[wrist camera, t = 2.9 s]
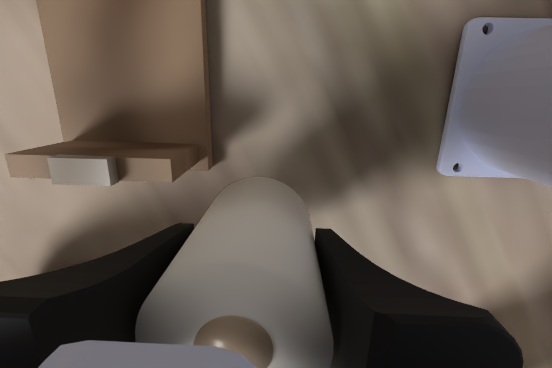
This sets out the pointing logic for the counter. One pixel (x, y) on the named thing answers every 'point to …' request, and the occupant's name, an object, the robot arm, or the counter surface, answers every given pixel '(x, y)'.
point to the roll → (246, 282)
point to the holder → (124, 92)
